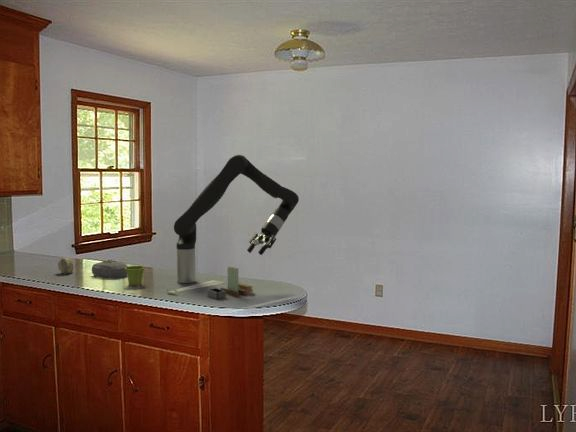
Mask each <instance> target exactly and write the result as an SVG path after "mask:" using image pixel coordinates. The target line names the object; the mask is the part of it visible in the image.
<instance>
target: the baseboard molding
mask: <svg viewBox="0 0 576 432" xmlns="http://www.w3.org/2000/svg"><path fill="white" fill-rule="evenodd" d="M226 283H227V281H221V280H214V279H211V280H209V281H204V282H200V283H197V284H196V283H195V284H192V285H188V286H184V287H181V288H176V289H173V290H169V289H167V293H166V294H168V295H173V296H177V297H179V294H175V293H180V294H181V295H183V296H184V295H185V294H186V293H185V292H184V291H189V290H194V289H199V288H206V287H210V286H216V285H222V284H223V285H224V284H226Z"/></svg>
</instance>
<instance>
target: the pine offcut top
mask: <svg viewBox="0 0 576 432" xmlns="http://www.w3.org/2000/svg"><path fill="white" fill-rule="evenodd" d="M238 286H239V289H243V290H246V291H248V290H253V285H251V284H247V283H243V282H239V281H238Z"/></svg>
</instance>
